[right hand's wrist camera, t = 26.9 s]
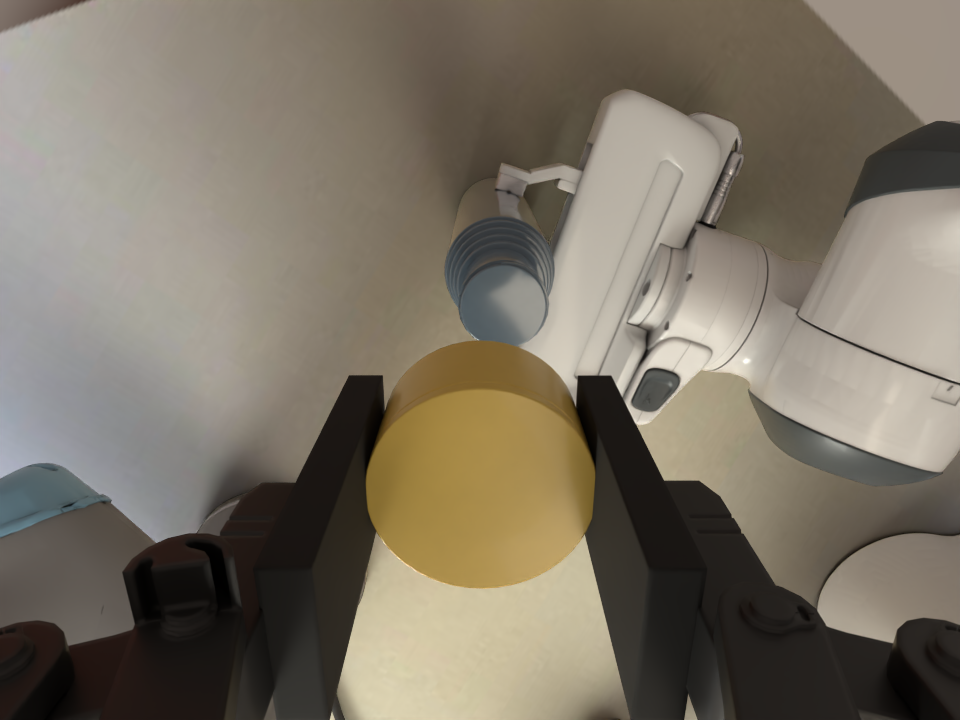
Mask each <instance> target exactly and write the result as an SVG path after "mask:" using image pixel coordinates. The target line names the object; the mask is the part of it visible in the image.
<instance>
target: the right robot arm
mask: <svg viewBox="0 0 960 720" xmlns="http://www.w3.org/2000/svg"><path fill="white" fill-rule="evenodd" d="M576 409H577V412H578V415H579V418H580V421H581V424H582V427H583V430H584V433H585V436H586V439H587V442H588V446H589V449H590V452H591V455H592V458H593V461H594V464H595V468H596V472H595V487H594V501H593V514H592V520H591V522H590V524H589V527H588V529H587V531H586V532H585V537H586V541H587V545H588V549H589V553H590V557H591V561H592V565H593V569H594V573H595V577H596V581H597V585H598V589H599V593H600V597H601V601H602V606H603V610H604V614H605V618H606V622H607V626H608V630H609V634H610V638H611V642H612V646H613V650H614V654H615V658H616V662H617V666H618V670H619V674H620V678H621V682H622V686H623V690H624V694H625V698H626V702H627V706H628V710H629V714H630V719H631V720H684V717H685V710H686V704H687V697H688V694H689V697H690V699H691V702H692V705H693V708H694V711H695V713H696V716H697V719H698V720H960V625H958V624H955V623H952V622H949V621H946V620H940V619H931V618H918V619H913V620H908V621H906V622H905V623H904V624H903V625H901V626H900V627H899V628H898V629H897V632H896V635H895V639H894V642H893V643H890V642H885V641H881V640H877V639H872V638H868V637H864V636H859V635H855V634H851V633H847V632H843V631H840V630H837V629H833V628H830V627H828V626H826V624H825V622H824V621H823V619H822V617H821V616H820V614H819V613H818V611H817V610H816V609H815V608H814V607H813V606H812V605H811V604H809V603H808V602H807V601H806V600H804V599H803V598H802V597H801V596H799V595H797V594H795V593H793V592H791V591H789V590H787V589H785V588H783V587H779V586H776V585H775V584H774V582H773V580H772V579H771V577H770V576H769V574H768V572H767V571H766V569H765V568H764V566H763V564H762V563H761V561H760V560H759V558H758V556H757V555H756V553H755V552H754V550H753V548H752V547H751V545H750V544H749V542H748V540H747V539H746V537H745V536H744V534H741V529H740V528H739V526H738V524H737V523H736V521H735V520H734V518H732V517H731V513H730V512H729V510H728V508H727V507H726V505H725V504H724V502H723V500H722V499H721V497H720V496H719V495H717V494H716V493H715V492H713V491H712V490H711V489H709V488H708V487H707V486H705V485H704V484H703V483H701V482H700V481H664V480H663V478H662V476H661V474H660V472H659V470H658V468H657V466H656V464H655V462H654V460H653V458H652V456H651V454H650V452H649V450H648V448H647V446H646V444H645V442H644V440H643V438H642V436H641V434H640V432H639V430H638V428H637V426H636V424H635V422H634V420H633V418H632V416H631V414H630V412H629V410H628V408H627V406H626V404H625V402H624V400H623V398H622V396H621V394H620V392H619V390H618V388H617V386H616V384H615V382H614V380H613V378H612V376H611V375H578V379H577V396H576ZM384 413H385V406H384V389H383V375H349V377H348V379H347V381H346V383H345V385H344V387H343V389H342V391H341V393H340V395H339V397H338V399H337V401H336V403H335V405H334V407H333V409H332V411H331V413H330V415H329V417H328V419H327V421H326V423H325V425H324V427H323V429H322V431H321V433H320V435H319V437H318V439H317V441H316V443H315V445H314V447H313V449H312V451H311V453H310V455H309V457H308V459H307V461H306V463H305V465H304V467H303V469H302V471H301V473H300V475H299V477H298V479H297V481H296V483H261V484H259V485H258V486H257V487H255V488H254V489H253V490H251V491H250V492H248V493H244V494H241V495H238V496H236V497H233V498H231V499H230V500H228V501H226V502H224V503H223V504H221V505H220V506H219V507H217V508H216V509H215V510H214V511H213V512H212V513H211V514H210V515H209V516H208V518H207V519H206V520H205V522H204V523H203V524H202V526H201V527H200V529H199V530H198V532H197V533H191V534H185V535H180V536H176V537H171V538H168V539H165V540H163V541H161V542H158V543H155V542H154V541H153V540H152V539H151V538H150V537H149V536H148V535H146V534H145V533H144V532H143V531H142V530H141V529H140V528H138V527H137V526H136V525H135V524H134V523H133V522H132V521H131V520H129V519H128V518H127V517H126V516H125V515H124V514H123V513H121V512H120V511H119V510H118V509H117V508H116V507H115V506H114V505H112V504H111V501H112V500H111V499H110V498H109V497H108V496H105V495H99V494H98V493H97V492H95V491H94V490H93V489H92V488H90V487H89V486H88V485H86V484H85V483H84V482H83V481H81V480H80V479H79V478H78V477H76V476H75V475H74V474H72V473H71V472H70V471H69V470H67V469H66V468H64V467H62V466H59V465H56V464H51V463H38V464H33V465H29V466H26V467H23V468H21V469H19V470H16V471H14V472H12V473H10V474H8V475H6V476H5V477H3V478H1V479H0V720H330V716H331V712H333V715H334V718H335V720H345V718H344V716H343V713H342V710H341V707H340V704H339V701H338V698H337V695H336V692H337V688H338V684H339V680H340V676H341V672H342V668H343V664H344V660H345V656H346V652H347V647H348V643H349V639H350V635H351V631H352V627H353V623H354V619H355V615H356V611H357V607H358V605H359V603H360V601H361V598H362V596H363V592H364V588H365V584H366V580H367V574H368V563H369V559H370V555H371V551H372V547H373V543H374V538H375V534H376V529H375V527H374V526H373V524H372V521H371V518H370V515H369V512H368V507H367V494H366V470H367V467H368V463H369V460H370V456H371V453H372V450H373V447H374V444H375V441H376V438H377V434H378V431H379V428H380V425H381V422H382V419H383V416H384Z"/></svg>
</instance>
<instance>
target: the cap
mask: <svg viewBox="0 0 960 720" xmlns="http://www.w3.org/2000/svg"><path fill="white" fill-rule="evenodd" d="M595 472H596V468H595V464H594V461H593V458H592V455H591V452H590V449H589V446H588V442H587V439H586V436H585V433H584V430H583V427H582V424H581V421H580V418H579V415H578V412H577V409H576V406H575V403H574V400H573V397H572V395H571V393H570V391H569V389H568V387H567V385H566V384H565V383H564V381H563V380H562V378H561V377H560V376H559V375H558V374H557V373H556V371H555V370H554V369H553V368H552V367H551V366H549V365H548V364H547V363H546V362H544V361H543V360H542V359H540V358H539V357H537V356H536V355H534V354H532V353H531V352H528V351H526V350H524V349H522V348H519V347H516V346H513V345H510V344H506V343H501V342H495V341H467V342H461V343H457V344H452V345H449V346H446V347H443V348H440V349H438V350H436V351H434V352H432V353H430V354H428V355H427V356H425V357H424V358H422V359H421V360H419V361H418V362H416V363H415V364H414V365H413V366H412V367H411V368H410V369H409V370H408V371H407V372H406V373H405V374H404V375H403V376H402V378H401V379H400V380H399V382H398V383H397V385H396V386H395V388H394V389H393V391H392V394H391V396H390V398H389V400H388V403H387V406H386V410H385V413H384V416H383V419H382V422H381V425H380V428H379V431H378V434H377V438H376V441H375V444H374V447H373V450H372V453H371V456H370V460H369V463H368V467H367V470H366V494H367V507H368V512H369V515H370V518H371V521H372V524H373V526H374V527H375V529H376V531H377V533H378V535H379V537H380V538H381V539H382V541H383V542H384V544H385V545H386V546H387V547H388V548H389V550H390V551H391V552H392V553H393V554H394V555H395V556H396V557H397V558H399V559H400V560H401V561H402V562H403V563H404V564H406V565H407V566H409V567H410V568H412V569H413V570H415V571H417V572H418V573H420V574H422V575H424V576H426V577H428V578H431V579H434V580H436V581H439V582H442V583H446V584H450V585H454V586H459V587H466V588H497V587H503V586H509V585H513V584H517V583H520V582H524V581H527V580H529V579H531V578H534V577H536V576H539V575H540V574H542V573H544V572H546V571H547V570H549V569H551V568H552V567H554V566H555V565H556V564H558V563H559V562H561V561H562V560H563V559H564V558H565V557H566V556H567V555H568V554H569V553H570V552H572V550H573V549H574V548H575V547H576V545H577V544H578V543H579V542H580V540H581V539H582V537H583V536H584V534H585V532H586V531H587V529H588V527H589V524H590V522H591V520H592V514H593V501H594V487H595Z"/></svg>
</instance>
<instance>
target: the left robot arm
mask: <svg viewBox="0 0 960 720" xmlns="http://www.w3.org/2000/svg"><path fill="white" fill-rule="evenodd" d="M734 142H735V151H731V149H732V147H733V145H734ZM742 146H743V140H742V136H741V133H740V130H739V129H738V127H737V126H736V125H735V124H734V123H733V122H731V121H730V120H728V119H725V118H722V117H719V116H717V115H714V114H711V113H708V112H695V113H692V114H689V115H688V116H687V115H685V114H683V113H681V112H680V111H678V110H676V109H674V108H672V107H670V106H668V105H666V104H664V103H662V102H660V101H658V100H656V99H654V98H651V97H649V96H647V95H645V94H642V93H639V92H637V91H634V90H630V89H622V90H619V91H617V92H614V93H612V94H610V95H608V96H607V97H605V98H604V99H603V100H602V102H601V104H600V107H599V110H598V112H597V115H596V118H595V121H594V123H593V126H592V129H591V132H590V134H589V137H588V140H587V143H586V145H585V148H584V151H583V154H582V156H581V159H580V162H579V165H578V167H577V168H575V167H572V166H569V165H566V164H563V163H556V164H551V165H547V166H542V167H538V168H533V169H529V171H526V170H523V169H520V168H517V167H515V166H512V165H509V164H505V163H501V166H500V169H499V172H498V175H497V179H496V182H495V185H494V186H495V188H496V189H499V190H501V191H509V190H510V192H511V193H512V194H514V195H516V196H519V197H523V194H524V191H525V189H526V186H527V184H528V185H529V184H534V183H539V182H543V181H548V180H553V179H555V180H554V185H555V186H556V187H557V188H558V189H561V190H564V191H567V192H568V195H567V198H566V200H565V203H564V206H563V209H562V211H561V214H560V217H559V220H558V222H557V225H556V228H555V231H554V233H553V236H552V239H551V242H550V244H549V247H550V249H551V252H552V254H553V259H554V265H555V274H554V281H553V286H552V289H551V292H550V295H549V297H548V299H549V310H548V316H547V318H546V321H545V323H544V326H543V327H542V328H541V330H540V331H539V332H538V334H537V335H536V336H534V337H533V338H532V339H531V340H529V341H528V342H526V343H524V344H522V345H519V346H517V347H519V348H522V349H524V350H526V351H528V352H531V353H532V354H534V355H536V356H537V357H539V358H540V359H542V360H543V361H544V362H546V363H547V364H548V365H549V366H551V367H552V368H553V369H554V370H555V371H556V373H557V374H558V375H559V376H560V377H561V378H562V380H563V381H564V383H565V384H566V385H567V387H568V389H569V391H570V393H571V395H572V397H573V400H574V403H575V406H576V396H577V379H578V375H611V376H612V378H613V380H614V382H615V384H616V386H617V388H618V390H619V392H620V394H621V396H622V398H623V400H624V402H625V404H626V406H627V408H628V410H629V412H630V414H631V416H632V418H633V420H634V422H635V424H638V425H645V424H648V423H649V422H651V421H652V420H653V419H654V418H655V417H656V416H657V415H658V414H659V413H660V412H661V410H662V409H663V408H664V407H665V406H666V405H667V404H668V403H669V402H670V400H671V399H672V398H673V397H674V396H675V395H676V394H677V393H678V392H679V391H680V390H681V389H682V388H683V387H684V386H685V385H686V384H687V383H688V382H689V381H690V380H691V379H692V378H693V377H694V376H695V375H696V374H697V373H698V372H699V371H700V370H704V371H709V372H723V373H732V374H735V375H738V376H741V377H743V378H745V379H747V380H748V381H749V383H750V388H749V389H748V392H749V396H750V399H751V401H752V404H753V406H754V408H755V410H756V412H757V414H758V416H759V418H760V420H761V422H762V425H763V427H764V429H765V431H766V433H767V435H768V436H769V438H770V439H771V441H772V442H773V443H774V444H775V445H776V446H777V447H779V448H780V449H781V450H782V451H783V452H785V453H786V454H788V455H789V456H791V457H793V458H795V459H797V460H799V461H801V462H803V463H805V464H808V465H810V466H812V467H815V468H818V469H820V470H823V471H826V472H829V473H832V474H835V475H838V476H841V477H844V478H847V479H850V480H853V481H857V482H860V483H863V484H867V485H871V486H891V485H901V484H910V483H916V482H920V481H924V480H927V479H930V478H933V477H936V476H938V475H941V474H943V470H944V469H945V468H946V467H947V466H948V464H949V463H950V462H951V461H952V460H953V458H954V457H955V456H956V455H957V453H958V452H959V450H960V121H951V122H946V121H935V122H933V123H930V124H928V125H925V126H923V127H921V128H918V129H916V130H914V131H912V132H910V133H908V134H906V135H904V136H902V137H900V138H898V139H897V140H895V141H893V142H891V143H890V144H888V145H886V146H884V147H883V148H881V149H880V150H878V151H877V152H875V153H873V154H872V155H870V156H869V157H868V158H867V159H866V161H865V164H864V166H863V169H862V171H861V174H860V176H859V179H858V181H857V184H856V186H855V189H854V191H853V194H852V196H851V199H850V201H849V203H848V206H847V208H846V211H845V215H844V217H845V219H844V221H843V224H842V226H841V228H840V230H839V232H838V234H837V236H836V238H835V240H834V242H833V244H832V246H831V248H830V250H829V252H828V254H827V256H826V258H825V260H824V262H823V264H819V263H816V262H810V261H793V260H788V259H785V258H782V257H780V256H778V255H777V254H775V253H774V252H773V251H772V250H770V249H769V248H767V247H766V246H764V245H762V244H760V243H758V242H755V241H752V240H749V239H746V238H743V237H740V236H737V235H734V234H731V233H728V232H725V231H722V230H720V229H717V228H716V224H717V222H718V220H719V218H720V215H721V213H722V211H723V208H724V206H725V204H726V201H727V197H728V195H729V194H728V193H729V192H730V188H731V187H732V184H733V182H734V180H735V178H736V177H737V176H738V175H739V173H740V171H741V169H742V166H743V163H744V159H745V155H743V154H741V152H742ZM696 220H698V221H699V222H696ZM817 611H818V613H819V614H820V616H821V617H822V619H823V621H824V622H825V624H826V626H828V627H830V628H833V629H837V630H840V631H843V632H847V633H851V634H855V635H859V636H864V637H868V638H872V639H877V640H881V641H885V642H890V643H893V642H894V639H895V635H896V632H897V629H898V628H899V627H900V626H901V625H903V624H904V623H905V622H906V621H908V620H913V619H918V618H931V619H940V620H946V621H949V622H952V623H955V624H958V625H960V535H956V536H941V535H934V534H926V533H911V534H902V535H897V536H892V537H888V538H885V539H882V540H879V541H877V542H874V543H872V544H870V545H868V546H866V547H864V548H862V549H860V550H859V551H857V552H855V553H854V554H852V555H851V556H850V557H848V558H847V559H846V560H845V561H844V562H842V563H841V564H840V565H839V566H838V567H837V568H836V570H835V571H834V572H833V573H832V574H831V576H830V577H829V578H828V580H827V581H826V583H825V585H824V587H823V589H822V591H821V594H820V597H819V601H818V607H817Z"/></svg>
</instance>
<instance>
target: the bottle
mask: <svg viewBox="0 0 960 720" xmlns="http://www.w3.org/2000/svg"><path fill="white" fill-rule="evenodd" d="M496 179H497V178H487V179H483V180H481V181H478V182H476V183H475V184H473V185H472V186H471V187H470V188H469V189H468V190H467V191H466V192H465V193H464V195H463V197H462V198H461V201H460V204H459V208H458V212H457V216H456V220H455V224H454V228H453V232H452V236H451V241H450V245H449V249H448V253H447V257H446V261H445V280H446V285H447V288H448V291H449V293H450V295H451V298H452V299H453V301H454V303H455V304H456V305H457V307H458V310H459V314H460V319H461V321H462V323H463V325H464V327H465V329H466V330H467V331H468V332H469V333H470V334H471V335H472V337H473V338H475V339H476V340H478V341H495V342H501V343H506V344H510V345H513V346H516V347H517V346H519V345H522V344H524V343H526V342H528V341H529V340H531V339H532V338H533V337H534V336H536V335H537V334H538V332H539V331H540V330H541V328H542V327H543V326H544V323H545V321H546V318H547V316H548V310H549V299H548V297H549V295H550V292H551V289H552V286H553V281H554V274H555V265H554V259H553V254H552V252H551V249H550V247H549V245H548V243H547V241H546V239H545V237H544V235H543V233H542V231H541V229H540V227H539V225H538V223H537V221H536V219H535V217H534V215H533V213H532V211H531V209H530V207H529V205H528V203H527V201H526V199H525V197H524V195H523V197H519V196H516V195H514V194H512V193H511V192H510V190H509V191H501V190H499V189H496V188H495V186H494V185H495V182H496Z"/></svg>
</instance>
